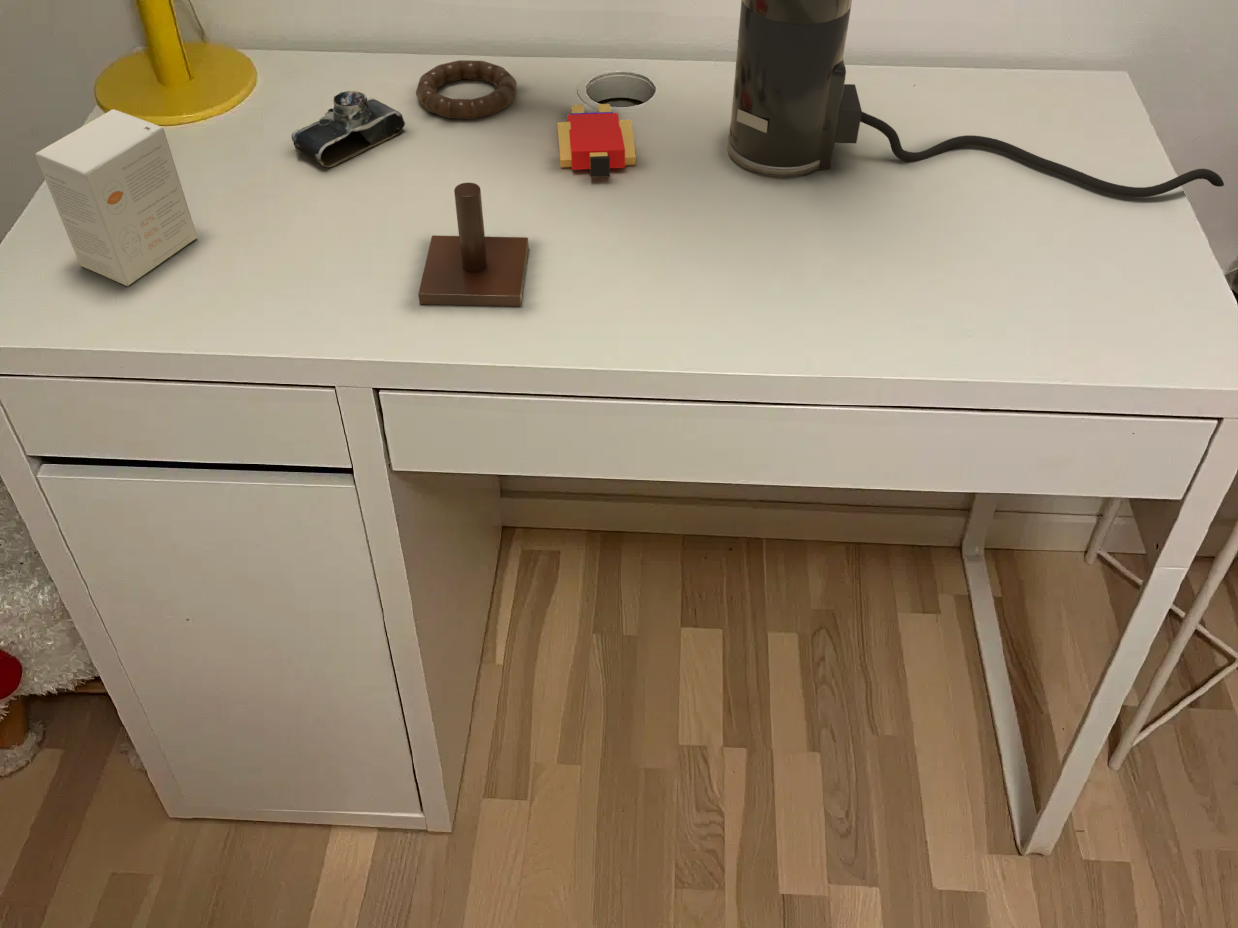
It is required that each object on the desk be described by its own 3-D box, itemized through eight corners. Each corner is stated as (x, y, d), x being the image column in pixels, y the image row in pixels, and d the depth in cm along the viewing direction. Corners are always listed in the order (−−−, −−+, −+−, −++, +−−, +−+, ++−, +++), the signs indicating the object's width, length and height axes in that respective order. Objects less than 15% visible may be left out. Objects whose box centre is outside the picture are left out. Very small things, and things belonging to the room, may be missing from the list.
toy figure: (555, 98, 110) (561, 157, 101) (626, 95, 110) (638, 154, 101) (556, 122, 111) (562, 183, 102) (626, 120, 112) (638, 180, 103)
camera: (286, 152, 106) (277, 110, 103) (375, 112, 111) (369, 71, 108) (320, 172, 103) (312, 130, 100) (409, 130, 109) (403, 89, 106)
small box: (151, 219, 98) (114, 106, 91) (200, 239, 96) (165, 125, 89) (77, 267, 93) (31, 152, 86) (127, 289, 91) (83, 172, 84)
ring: (519, 75, 117) (518, 58, 115) (511, 123, 110) (510, 106, 109) (425, 73, 117) (423, 56, 116) (411, 121, 110) (409, 103, 109)
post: (528, 247, 96) (523, 162, 90) (520, 306, 90) (515, 220, 85) (433, 245, 96) (422, 160, 90) (419, 304, 90) (406, 218, 85)
